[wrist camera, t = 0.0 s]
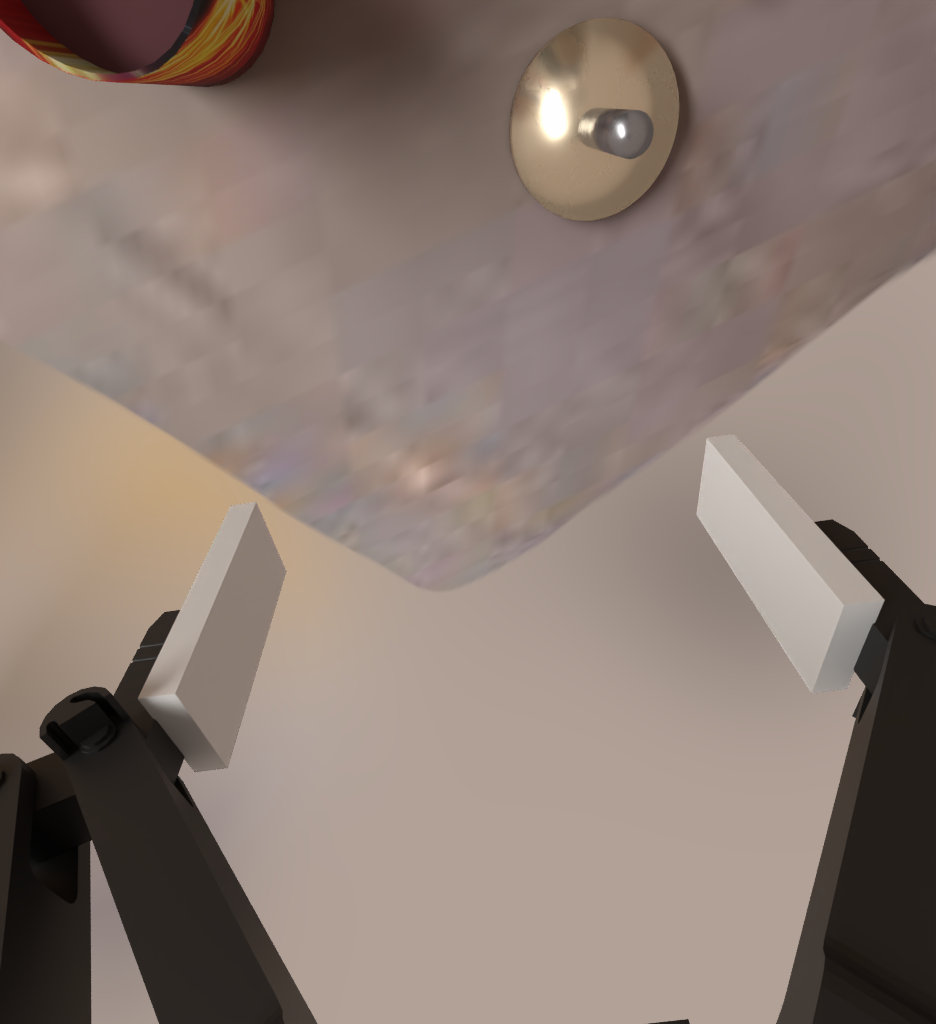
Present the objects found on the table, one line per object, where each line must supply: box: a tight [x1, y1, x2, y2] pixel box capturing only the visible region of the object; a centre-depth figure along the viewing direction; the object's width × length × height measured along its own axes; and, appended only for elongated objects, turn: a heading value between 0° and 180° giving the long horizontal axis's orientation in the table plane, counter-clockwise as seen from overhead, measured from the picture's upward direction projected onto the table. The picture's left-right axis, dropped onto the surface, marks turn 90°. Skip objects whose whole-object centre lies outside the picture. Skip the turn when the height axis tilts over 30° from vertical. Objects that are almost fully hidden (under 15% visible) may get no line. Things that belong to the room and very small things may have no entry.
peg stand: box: [509, 18, 679, 221], centre depth 31 cm, size 10×10×9 cm
